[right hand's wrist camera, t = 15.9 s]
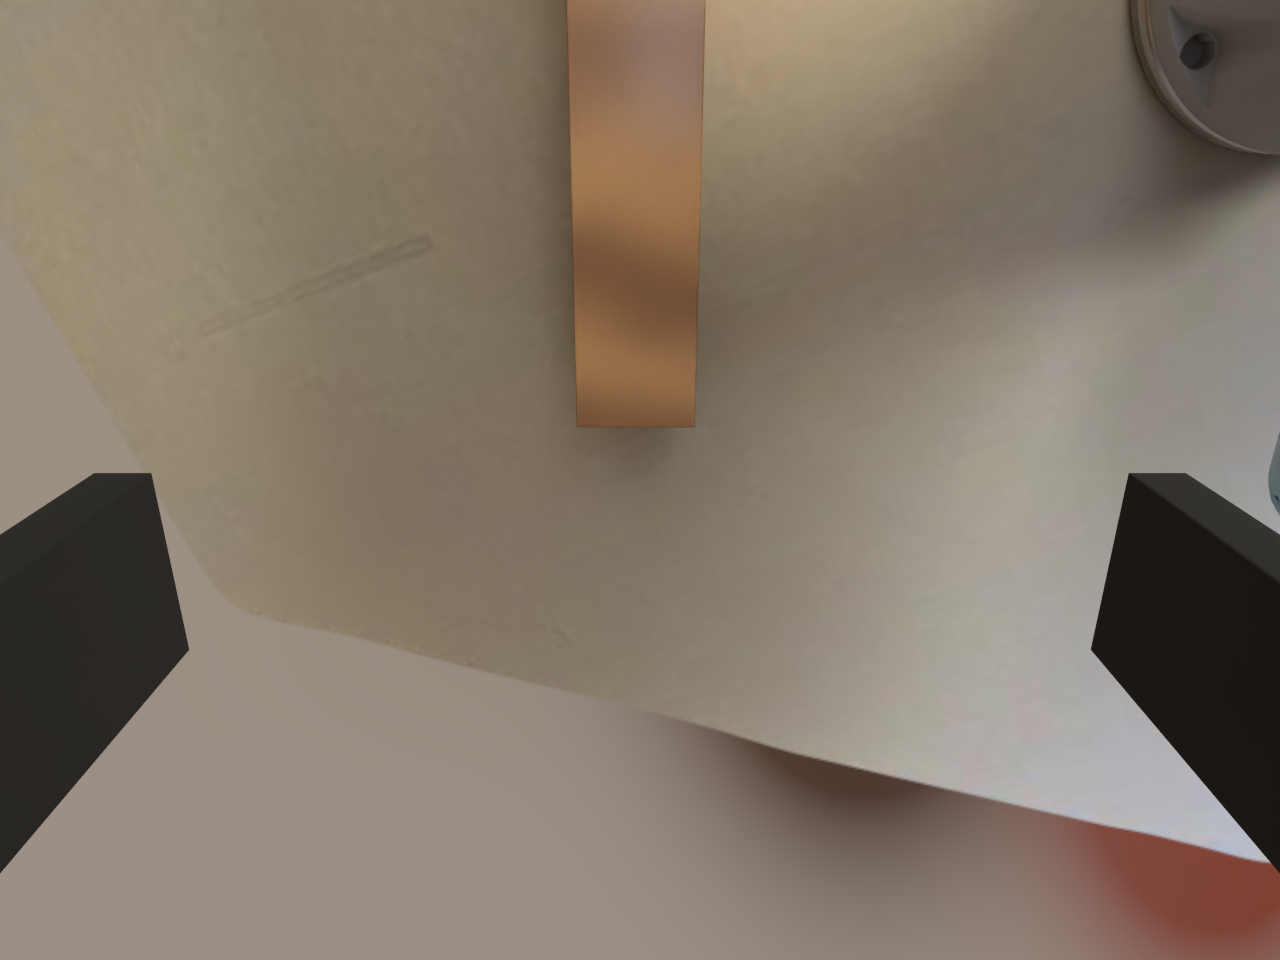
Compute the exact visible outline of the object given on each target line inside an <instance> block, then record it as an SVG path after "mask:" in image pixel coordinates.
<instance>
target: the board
mask: <svg viewBox="0 0 1280 960" xmlns="http://www.w3.org/2000/svg"><path fill="white" fill-rule="evenodd" d="M705 3H706V0H566V10H567V50H568V90H569V130H570V170H571V209H572V249H573V289H574V329H575V369H576V409H577V427H694V426H695V392H696V353H697V314H698V275H699V236H700V197H701V158H702V119H703V80H704V42H705Z"/></svg>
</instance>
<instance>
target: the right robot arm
mask: <svg viewBox="0 0 1280 960" xmlns="http://www.w3.org/2000/svg"><path fill="white" fill-rule="evenodd" d="M1131 18H1132V26H1133V34H1134V39H1135V43H1136V48H1137V52H1138V55H1139V58H1140V61H1141V64H1142V67H1143V70H1144V72H1145V74H1146V76H1147V78H1148V80H1149V83H1150V85H1151V86H1152V88H1153V90H1154V91H1155V93H1156V94H1157V96H1158V98H1159V99H1160V100H1161V102H1162V103H1163V104H1164V105H1165V107H1166V108H1167V109H1168V110H1169V111H1170V112H1171V113H1172V114H1173V115H1174V116H1175V117H1176V118H1177V119H1178V120H1179V121H1180V122H1181V123H1182V124H1183V125H1185V126H1186V127H1187V128H1189V129H1190V130H1191V131H1193V132H1194V133H1196V134H1198V135H1199V136H1201V137H1203V138H1204V139H1206V140H1208V141H1211V142H1213V143H1215V144H1218V145H1220V146H1223V147H1227V148H1230V149H1233V150H1237V151H1243V152H1249V153H1259V154H1275V155H1280V0H1131ZM1268 482H1269V492H1270V496H1271V500H1272V502H1273V504H1274V506H1275V508H1276V510H1277V511H1278V513H1279V515H1280V433H1279V436H1278V440H1277V443H1276V447H1275V451H1274V454H1273V458H1272V462H1271V465H1270V470H1269V479H1268ZM188 650H189V647H188V642H187V638H186V633H185V628H184V624H183V619H182V614H181V610H180V605H179V600H178V596H177V591H176V586H175V582H174V577H173V573H172V568H171V563H170V558H169V554H168V549H167V544H166V540H165V535H164V531H163V526H162V521H161V516H160V512H159V507H158V503H157V498H156V493H155V489H154V484H153V479H152V475H151V473H94V474H92V475H91V476H89V477H88V478H86V479H85V480H83V481H82V482H80V483H79V484H77V485H76V486H74V487H73V488H71V489H69V490H68V491H66V492H65V493H63V494H62V495H60V496H59V497H57V498H56V499H54V500H53V501H51V502H50V503H48V504H47V505H45V506H44V507H42V508H40V509H39V510H37V511H36V512H34V513H33V514H31V515H30V516H28V517H27V518H25V519H24V520H22V521H21V522H19V523H17V524H16V525H15V526H13V527H11V528H10V529H8V530H7V531H5V532H4V533H2V534H1V535H0V873H1V872H2V870H3V869H4V868H5V867H6V866H7V865H8V863H9V862H10V861H11V860H12V859H13V857H14V856H15V855H16V854H17V853H18V851H19V850H20V849H21V848H22V847H23V846H24V844H25V843H26V842H27V841H28V840H29V839H30V837H31V836H32V835H33V834H34V833H35V831H36V830H37V829H38V828H39V827H40V825H41V824H42V823H43V822H44V821H45V819H46V818H47V817H48V816H49V815H50V814H51V812H52V811H53V810H54V809H55V808H56V806H57V805H58V804H59V803H60V802H61V801H62V799H63V798H64V797H65V796H66V795H67V793H68V792H69V791H70V790H71V789H72V788H73V786H74V785H75V784H76V783H77V782H78V780H79V779H80V778H81V777H82V776H83V775H84V773H85V772H86V771H87V770H88V769H89V768H90V766H91V765H92V764H93V763H94V762H95V760H96V759H97V758H98V757H99V756H100V754H101V753H102V752H103V751H104V750H105V749H106V747H107V746H108V745H109V744H110V743H111V741H112V740H113V739H114V738H115V737H116V736H117V734H118V733H119V732H120V731H121V730H122V728H123V727H124V726H125V725H126V724H127V723H128V721H129V720H130V719H131V718H132V717H133V715H134V714H135V713H136V712H137V711H138V710H139V708H140V707H141V706H142V705H143V703H144V702H145V701H146V700H147V699H148V698H149V697H150V695H151V694H152V693H153V692H154V691H155V689H156V688H157V687H158V686H159V685H160V683H161V682H162V681H163V680H164V679H165V678H166V676H167V675H168V674H169V673H170V672H171V670H172V669H173V668H174V667H175V666H176V665H177V663H178V662H179V661H180V660H181V659H182V657H183V656H184V655H185V654H186V653H187V652H188ZM1091 650H1092V652H1093V653H1094V654H1095V655H1096V656H1097V657H1098V659H1099V660H1100V661H1101V662H1102V663H1103V665H1104V666H1105V667H1106V668H1107V669H1108V670H1109V672H1110V673H1111V674H1112V675H1113V676H1114V678H1115V679H1116V680H1117V681H1118V682H1119V684H1120V685H1121V686H1122V687H1123V688H1124V689H1125V691H1126V692H1127V693H1128V694H1129V695H1130V697H1131V698H1132V699H1133V700H1134V701H1135V702H1136V704H1137V705H1138V706H1139V707H1140V708H1141V710H1142V711H1143V712H1144V713H1145V714H1146V715H1147V717H1148V718H1149V719H1150V720H1151V721H1152V723H1153V724H1154V725H1155V726H1156V727H1157V728H1158V730H1159V731H1160V732H1161V733H1162V734H1163V736H1164V737H1165V738H1166V739H1167V740H1168V741H1169V743H1170V744H1171V745H1172V746H1173V747H1174V749H1175V750H1176V751H1177V752H1178V753H1179V754H1180V756H1181V757H1182V758H1183V759H1184V760H1185V762H1186V763H1187V764H1188V765H1189V766H1190V768H1191V769H1192V770H1193V771H1194V772H1195V773H1196V775H1197V776H1198V777H1199V778H1200V779H1201V781H1202V782H1203V783H1204V784H1205V785H1206V786H1207V788H1208V789H1209V790H1210V791H1211V792H1212V794H1213V795H1214V796H1215V797H1216V798H1217V799H1218V801H1219V802H1220V803H1221V804H1222V805H1223V807H1224V808H1225V809H1226V810H1227V811H1228V812H1229V814H1230V815H1231V816H1232V817H1233V818H1234V820H1235V821H1236V822H1237V823H1238V824H1239V825H1240V827H1241V828H1242V829H1243V830H1244V831H1245V833H1246V834H1247V835H1248V836H1249V837H1250V839H1251V840H1252V841H1253V842H1254V843H1255V844H1256V846H1257V847H1258V848H1259V849H1260V850H1261V852H1262V853H1263V854H1264V855H1265V856H1266V857H1267V859H1268V860H1269V861H1270V862H1271V863H1272V865H1273V866H1274V867H1275V868H1276V869H1277V870H1278V872H1279V873H1280V535H1279V534H1278V533H1276V532H1275V531H1273V530H1272V529H1270V528H1269V527H1267V526H1266V525H1264V524H1263V523H1261V522H1259V521H1258V520H1256V519H1255V518H1253V517H1252V516H1250V515H1249V514H1247V513H1246V512H1244V511H1243V510H1241V509H1240V508H1238V507H1237V506H1235V505H1234V504H1232V503H1230V502H1229V501H1227V500H1226V499H1224V498H1223V497H1221V496H1220V495H1218V494H1217V493H1215V492H1214V491H1212V490H1211V489H1209V488H1208V487H1206V486H1204V485H1203V484H1201V483H1200V482H1198V481H1197V480H1195V479H1194V478H1192V477H1191V476H1189V475H1188V474H1186V473H1129V475H1128V479H1127V484H1126V489H1125V493H1124V498H1123V502H1122V507H1121V512H1120V516H1119V521H1118V526H1117V530H1116V535H1115V540H1114V544H1113V549H1112V554H1111V558H1110V563H1109V568H1108V572H1107V577H1106V582H1105V586H1104V591H1103V596H1102V600H1101V605H1100V610H1099V614H1098V619H1097V624H1096V628H1095V633H1094V638H1093V642H1092V647H1091Z"/></svg>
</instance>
